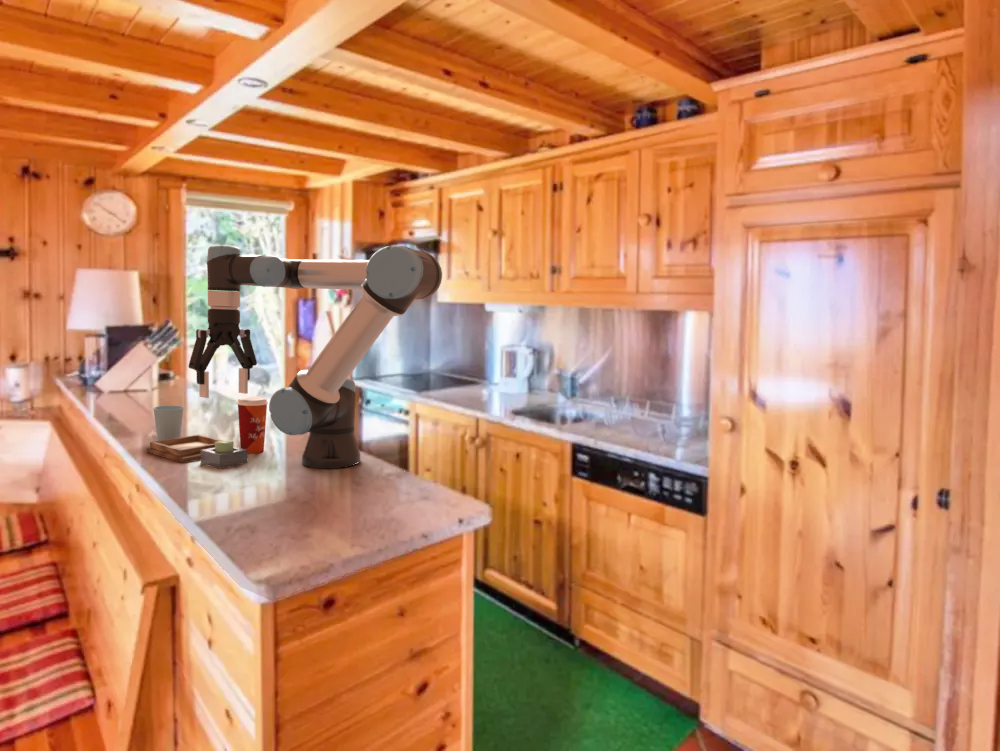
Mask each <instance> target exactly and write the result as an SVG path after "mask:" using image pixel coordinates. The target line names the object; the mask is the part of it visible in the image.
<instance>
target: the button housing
mask: <svg viewBox="0 0 1000 751" xmlns="http://www.w3.org/2000/svg"><path fill="white" fill-rule="evenodd" d="M248 454H249V453H248V450H247V449H243V448H241V447H240V446H234V451H230V452H225V453H219V452H215V447H214V448H209V449H203V450H201V460H200V464H202V465H206V466H209V467H213V468H215V469H219V470H220V469H225V468H231V467H235V466H239V465H244V464H248V462H249V461H248V457H249V456H248Z"/></svg>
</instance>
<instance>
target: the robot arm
mask: <svg viewBox="0 0 1000 751" xmlns="http://www.w3.org/2000/svg"><path fill="white" fill-rule="evenodd" d="M206 258H207V260H206V268H207V269H206V272H207V306H208V307H210V308H208V309H207V323H208V328H206V329H201V328H200V329H196V331H195V334H196V335H195V342H194V345H193V348H192V352H191V356H190V360H189V363H188V368H189V369H190V370H191V369H192V370H194V371H195V372H196V384H197V385H199V390H198V391H199V398H204V399H209V398H210V394H209V392H210V380H209V378H210V377H209V376H210V372H209V370H208V371H207V370H206V369H208V366H209V364H210V363H211V361H212V359H213V358H214V355H215V354H216V352H217V350H218V349H219V348H220V346H229V348H231V351H232V352H233V354H234V355H235V357H236V359H237V361H238V363H239V365H240V366H241V367H238V393H239V394H244V395H245V394H249V393H248V392H249V390H248V389H249V383H248V382H249V381H250V378H251V369H253V367H254V366H257V365H258V362H257V359H256V354H255V351H254V347H253V344H252V340H251V330H250V329H249V328H241V329H240V326H239V325H240V323H241V311H240V309H239V308H241V286H251V287H254V286H255V287H263V288H265V287H266V288H286V289H296V290H300V289H319V290H320V289H322V290H323V289H325V290H326V289H328V290H352V291H353V290H354V291H355V290H358V291H360V290H361V291H362V295H361V297H360V298H359V299H358V301H357V302H356V304H355V305H354V306H353V308H351V311H350V312H349V313H348V314H347V316H346V317H345V319H344V320H343V322H342V323H341V324H340V326H339V327H338V328H337V329H336V331H335V333H334V334H333V335H332V336H331V337H330V339H329V340H328V342H327V343H326V345H324V347H323V349H322V350H321V352H320V353H319V355H317V357H316V359H314V361H313V363H312V364H311V365H310V367H309V368H308V369H302V370H300V371H298V373H296V375H295V377H294V378H293V379H292V380H291V382H290V384H289V385H288V386H287V387H286V386H285V387H280V389H278V390H276V391H275V392H274V393H273V394H272V396H271V398H270V399H269V402H268V411H269V413H270V419H271V422H272V424H274V426H275V428H277V430H279V431H280V432H281V433H284V434H285V435H288V436H298V435H299V436H300V435H301V436H302V435H304V434H307V433H308V437H307V440H306V444H305V447H304V450H303V452H302V455H301V463H302V465H304V466H306V467H311V468H314V469H315V468H317V469H325V468H333V469H342V468H341V467H345V468H347V467H346V466H350V465H353V464H355V463H357V462H359V461H360V462H361V451H360V450H359V446H358V442H357V438H356V435H355V422H356V421H355V418H356V415H355V414H356V394H357V392H356V383H355V381H354V380H353V379H352V378H349V377H350V375H351V374H352V373H353V371H354V370H355V369H356V367H357V366H358V365H359V363H361V361H362V359H363V357H364V356H365V355H366V354H367V353H368V351H369V350H370V349H371V347H372V346H373V345H374V343H375V342H376V341H377V339H378V338H379V337H380V335H381V334H382V332H383V331H384V330H385V328H386V327H387V325H388V324H389V323H390V322H391V320H393V318H394V317H400V316H403V315H404V314H405V313H406V312H407V310H408V309H409V307H410V306H411V305H412V304H413V302H415V300H424V299H427V298H429V297H431V296H433V295H434V294H435V293H436V292H437V291H438V290H439V288H440V287H441V284H442V278H443V272H442V267H441V265H440V263H439V261H438V260H437V258H436V257H435V256H433V255H432V254H430V253H428V252H426V251H423V250H417V249H414V248H411V247H409V246H404V245H387V246H385V247H382V248H380V249H378V250H377V251H375V252H374V253H373V254H372V256H371V257H370V258H369V259H302V258H301V259H290V258H282V257H279V256H275V255H270V254H269V255H268V254H241V249H240V248H239V247H237V246H233V245H231V246H230V245H219V244H218V245H210V246H209V247H208V249H207V257H206ZM208 338H209V340H207V339H208ZM238 338H240V339H238ZM206 345H207V346H206ZM241 345H242V346H241ZM350 467H351V466H350Z"/></svg>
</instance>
